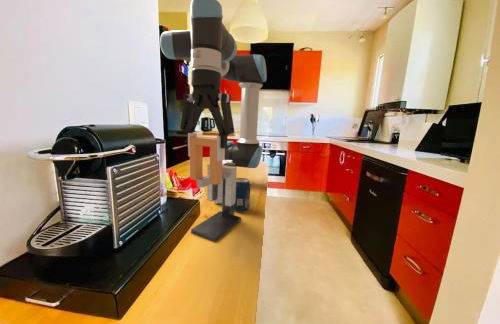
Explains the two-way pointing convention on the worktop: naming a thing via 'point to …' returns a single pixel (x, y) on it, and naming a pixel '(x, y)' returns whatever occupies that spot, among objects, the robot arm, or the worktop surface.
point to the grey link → (229, 186)
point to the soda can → (242, 195)
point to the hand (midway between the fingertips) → (206, 157)
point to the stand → (217, 215)
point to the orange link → (197, 159)
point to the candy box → (221, 187)
